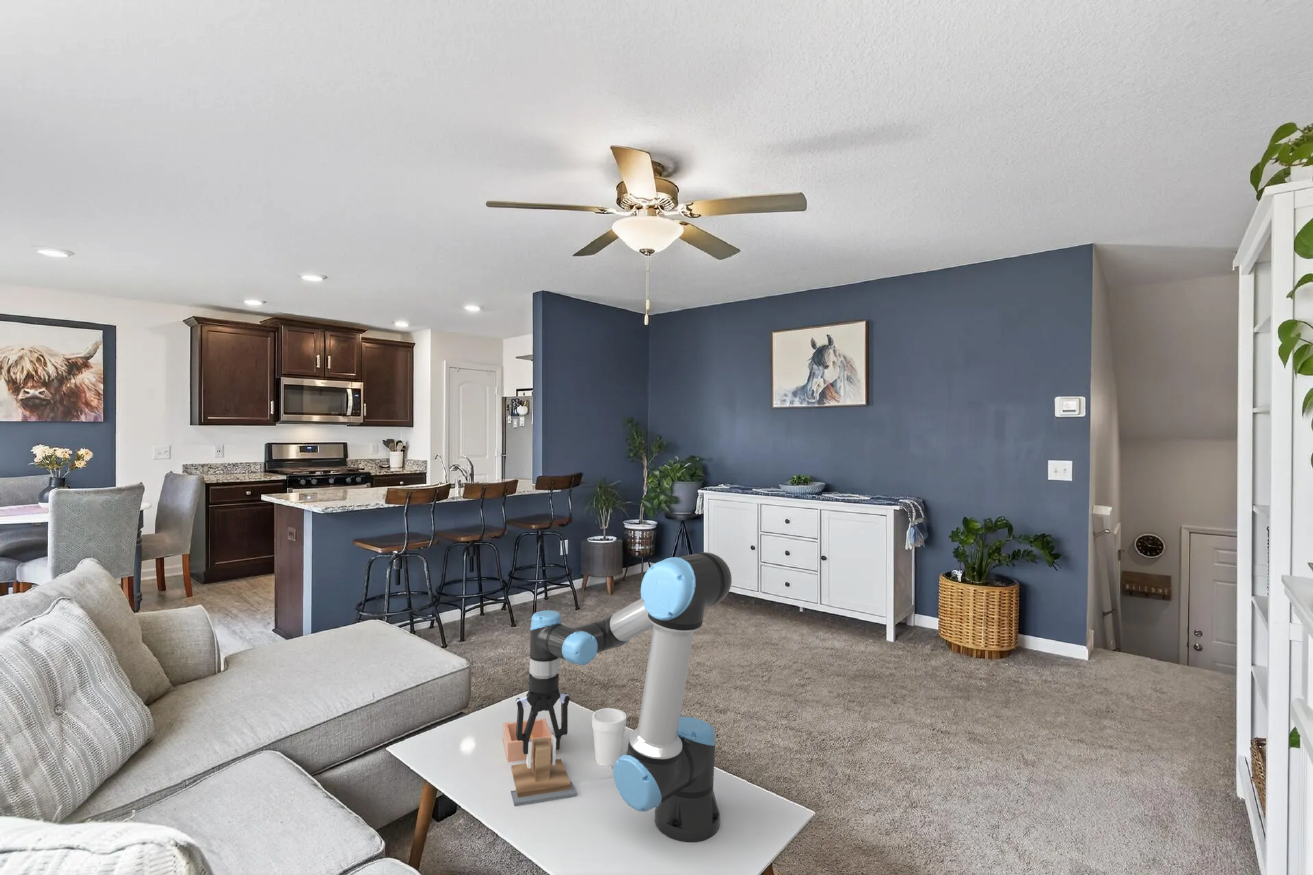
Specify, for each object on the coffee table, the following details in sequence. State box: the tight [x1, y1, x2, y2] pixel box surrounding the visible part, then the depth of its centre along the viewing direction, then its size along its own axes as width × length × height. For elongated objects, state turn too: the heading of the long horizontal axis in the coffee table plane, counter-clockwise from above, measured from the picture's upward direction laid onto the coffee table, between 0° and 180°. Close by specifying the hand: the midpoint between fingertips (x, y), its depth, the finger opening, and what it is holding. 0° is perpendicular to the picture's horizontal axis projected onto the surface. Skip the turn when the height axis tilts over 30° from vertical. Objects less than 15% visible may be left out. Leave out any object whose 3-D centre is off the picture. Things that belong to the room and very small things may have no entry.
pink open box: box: [502, 718, 553, 763], centre depth 176 cm, size 12×12×6 cm
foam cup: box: [591, 707, 627, 770], centre depth 172 cm, size 10×9×13 cm
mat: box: [510, 781, 577, 807], centre depth 161 cm, size 17×15×1 cm
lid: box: [511, 737, 571, 798], centre depth 161 cm, size 13×13×9 cm
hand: (540, 763), depth 161 cm, fingers open, 5 cm apart
